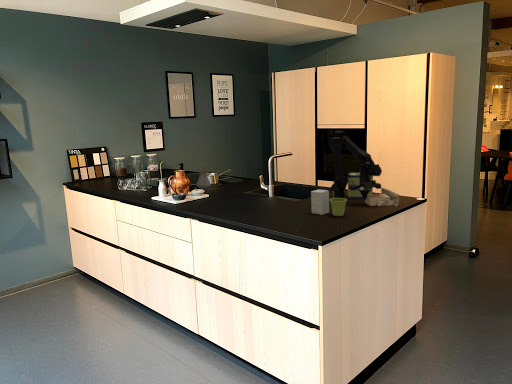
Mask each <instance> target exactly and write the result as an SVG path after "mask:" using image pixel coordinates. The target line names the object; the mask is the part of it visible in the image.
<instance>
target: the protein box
mask: <svg viewBox="0 0 512 384" xmlns="http://www.w3.org/2000/svg"><path fill="white" fill-rule="evenodd" d="M359 176H360V172H348V174H347V180H348V184H347V186H348V185H349V184H355V185H359V183H360V178H359ZM369 177H370V180H371V181H372V180H374V176H370V175H369ZM357 189H358V188H357ZM373 190H374V187H373V188H372V190H371V191H369V193H368V195H374V193H373ZM348 199H349V200H361V199H362V200H363V198H362V195H361V193H360V191H359V190H349V189H348V188H347V200H348Z"/></svg>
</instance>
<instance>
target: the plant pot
mask: <svg viewBox="0 0 512 384" xmlns="http://www.w3.org/2000/svg"><path fill="white" fill-rule="evenodd" d="M347 201H348V198H333V197H332V198H329V204H330V205H331V206H330V207H331V212H332V216H334V217H343V216H344V215H345V209H346V204H347Z"/></svg>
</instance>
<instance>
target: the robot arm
mask: <svg viewBox="0 0 512 384" xmlns="http://www.w3.org/2000/svg"><path fill="white" fill-rule="evenodd" d="M327 143H328V144H327V145H328V149H329V150H330V151H331V153H332V158H333V159H332V161H333V168H334V176H333V183H332V184H331V186H330V191H332V198H345V197H346V196H345V195H346V194H345V190H346V189H347V190H348V189H349V190H359V191H360V193H361V195H362V198H363V199H362V200H363V202H365V200H366V198H367V195H368V193H369V191H371V190H372V188H373V189H376V190H378V189H380V190H381V188H382V184H381V183H379V182H377V180H376V179H373V180H372V181H371V180H370V177H369V175H370V176H373V177H380V176H381V175H382V173H383V172H382V171H383V170H382V167H381V166H380V164H378V163H377V164H375V162H374V160H373V158H372V156H371V154H370V153H368V152H367V151H365V150H363V149H361V148H360V147H359V146H358V145H357V144H355V142H353V141H352V140H351V139H350V137H349V136H342V137H339V136H337V137H335V136H334V137H330V138H328V140H327ZM343 145H344V147H346V148H347V149H348V150H349V151H350V153H352V154H353V155H354V156H355V160H356V161H357V162H358V164H357V165H356V168H359V173H360V176H359V178H360V183H359V185H355V184H349V185H348V175H345V174H344V169H343V161H342V155H341V149H342V148H343V147H342V146H343ZM357 188H358V189H357ZM345 199H346V198H345Z"/></svg>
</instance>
